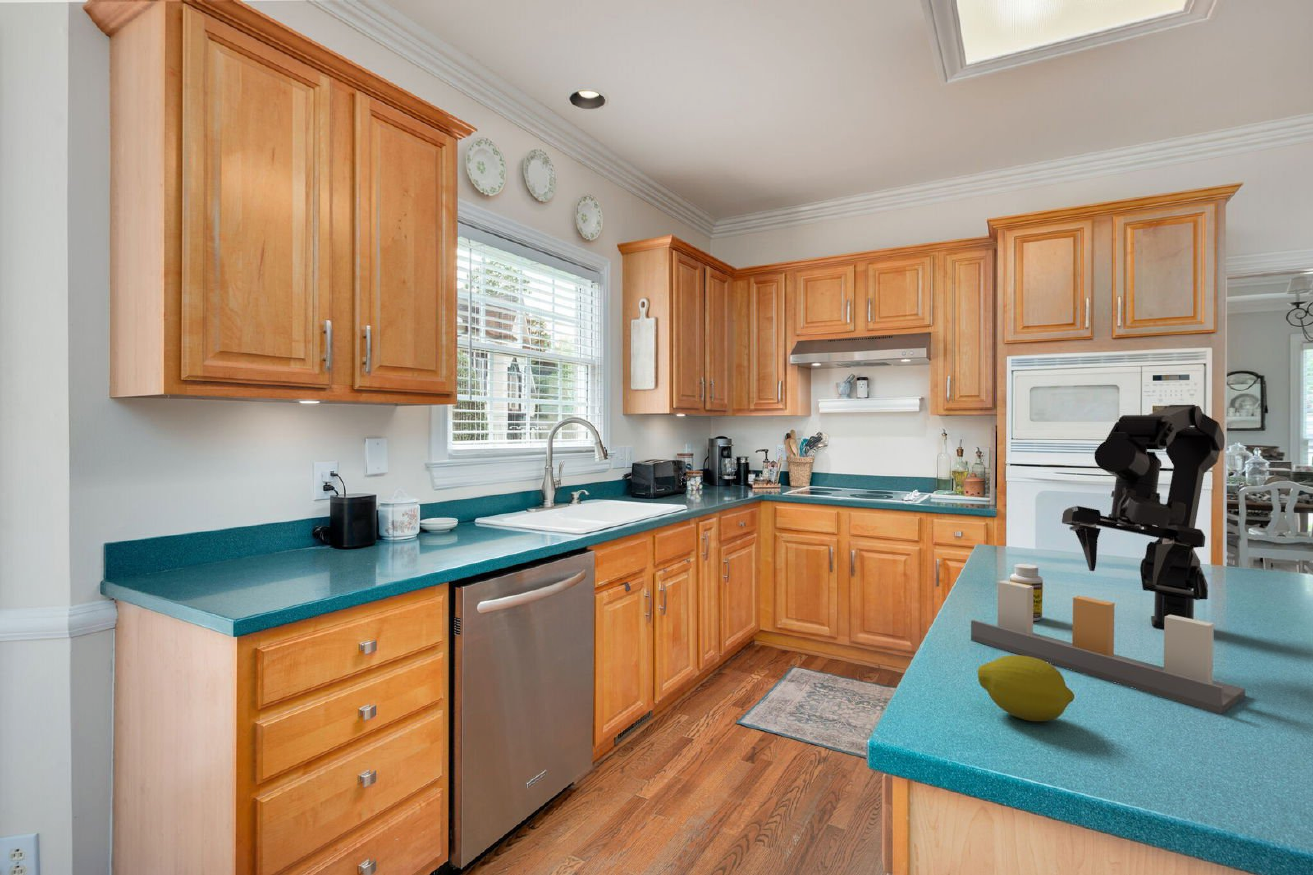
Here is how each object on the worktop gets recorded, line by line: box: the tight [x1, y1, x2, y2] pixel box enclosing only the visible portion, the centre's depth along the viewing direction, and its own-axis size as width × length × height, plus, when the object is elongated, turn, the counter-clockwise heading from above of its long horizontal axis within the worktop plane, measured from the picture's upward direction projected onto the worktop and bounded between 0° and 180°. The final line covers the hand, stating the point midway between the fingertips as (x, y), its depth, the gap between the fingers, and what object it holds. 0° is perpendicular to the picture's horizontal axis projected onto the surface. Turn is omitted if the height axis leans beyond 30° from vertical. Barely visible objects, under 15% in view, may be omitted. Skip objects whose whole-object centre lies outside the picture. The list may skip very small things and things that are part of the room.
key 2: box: [1163, 615, 1215, 684], centre depth 90 cm, size 2×5×9 cm, turn 34°
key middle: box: [1071, 595, 1115, 657], centre depth 100 cm, size 2×5×9 cm, turn 34°
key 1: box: [997, 580, 1034, 636], centre depth 110 cm, size 2×5×9 cm, turn 34°
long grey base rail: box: [970, 619, 1246, 715], centre depth 100 cm, size 10×34×4 cm, turn 34°
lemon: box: [977, 654, 1075, 722], centre depth 83 cm, size 11×8×8 cm
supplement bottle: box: [1009, 563, 1044, 622], centre depth 124 cm, size 6×6×10 cm
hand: (1123, 577), depth 105 cm, fingers open, 9 cm apart
